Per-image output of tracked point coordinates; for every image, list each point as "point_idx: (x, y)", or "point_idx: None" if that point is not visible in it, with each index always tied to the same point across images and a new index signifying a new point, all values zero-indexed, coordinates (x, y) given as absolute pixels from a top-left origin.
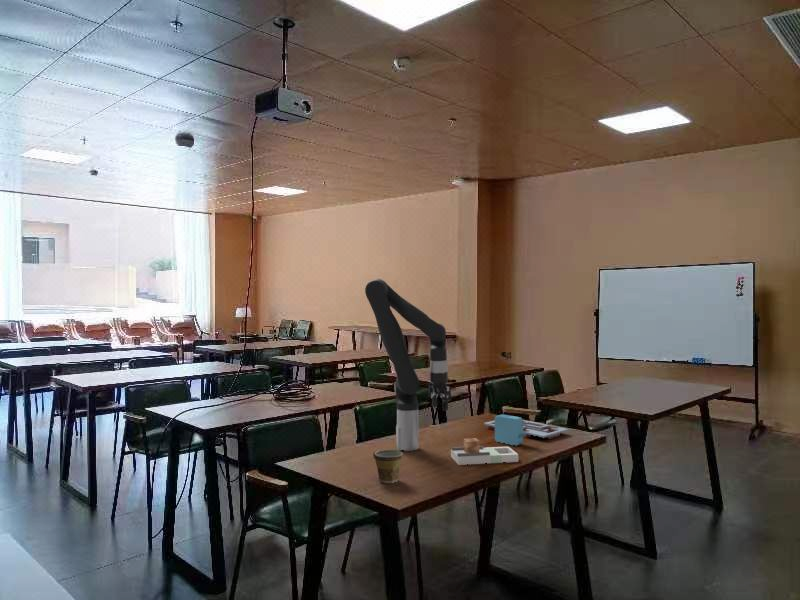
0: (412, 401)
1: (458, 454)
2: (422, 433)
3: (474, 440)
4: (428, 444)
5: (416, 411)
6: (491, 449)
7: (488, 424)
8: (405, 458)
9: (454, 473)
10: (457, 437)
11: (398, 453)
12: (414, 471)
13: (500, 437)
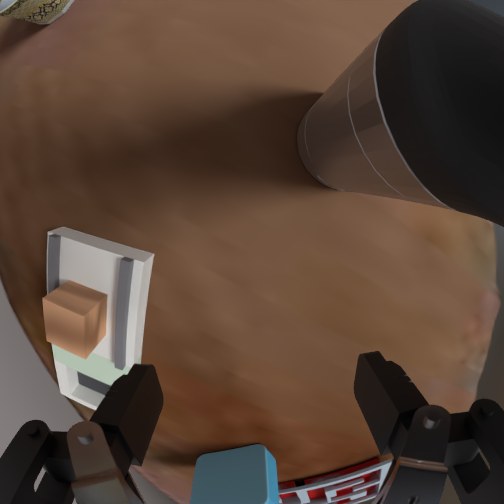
0: (487, 108)
1: (49, 237)
2: (468, 301)
3: (56, 333)
4: (358, 256)
5: (385, 145)
6: (108, 377)
7: (377, 465)
8: (208, 72)
9: (16, 178)
10: None
11: (18, 3)
12: (70, 68)
13: (246, 458)
